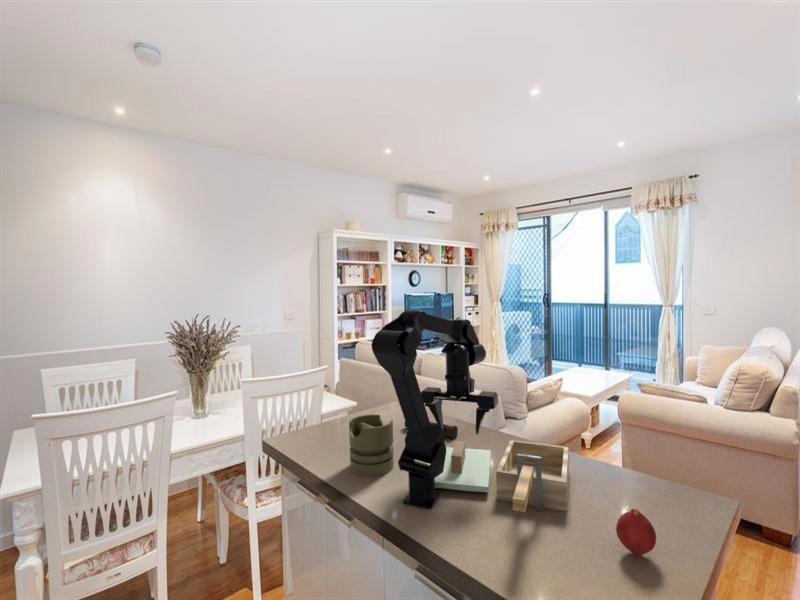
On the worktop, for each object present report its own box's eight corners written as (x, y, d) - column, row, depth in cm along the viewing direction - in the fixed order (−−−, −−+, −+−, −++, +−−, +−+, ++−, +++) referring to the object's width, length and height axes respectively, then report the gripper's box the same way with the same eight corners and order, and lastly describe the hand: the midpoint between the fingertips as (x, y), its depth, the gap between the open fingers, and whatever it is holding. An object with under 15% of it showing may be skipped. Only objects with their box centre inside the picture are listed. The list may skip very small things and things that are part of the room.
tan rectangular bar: (525, 512, 68) (524, 500, 68) (512, 509, 69) (512, 498, 69) (533, 476, 81) (533, 466, 81) (523, 475, 82) (522, 465, 81)
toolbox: (566, 511, 82) (566, 482, 81) (496, 499, 87) (496, 471, 87) (568, 471, 100) (568, 446, 100) (510, 462, 105) (510, 439, 105)
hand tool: (459, 437, 126) (458, 422, 126) (452, 441, 122) (452, 425, 122) (409, 426, 137) (409, 412, 137) (402, 429, 134) (402, 415, 134)
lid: (488, 496, 88) (488, 468, 88) (421, 490, 92) (420, 463, 92) (490, 458, 109) (490, 435, 108) (435, 454, 112) (435, 432, 112)
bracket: (541, 511, 82) (540, 458, 82) (517, 507, 84) (516, 455, 84) (542, 509, 83) (541, 456, 82) (518, 505, 84) (517, 453, 84)
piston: (375, 412, 113) (401, 421, 104) (376, 454, 113) (402, 467, 104) (340, 420, 106) (365, 431, 97) (342, 466, 106) (366, 481, 97)
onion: (620, 539, 72) (619, 495, 72) (658, 552, 68) (658, 505, 68) (613, 556, 68) (612, 509, 67) (653, 571, 64) (652, 521, 64)
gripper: (501, 365, 104) (502, 425, 104) (432, 362, 112) (434, 418, 112) (493, 374, 94) (494, 440, 94) (418, 369, 101) (419, 431, 102)
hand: (459, 431), depth 101 cm, fingers open, 9 cm apart
